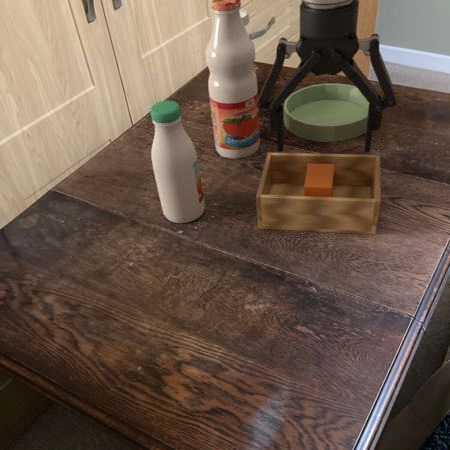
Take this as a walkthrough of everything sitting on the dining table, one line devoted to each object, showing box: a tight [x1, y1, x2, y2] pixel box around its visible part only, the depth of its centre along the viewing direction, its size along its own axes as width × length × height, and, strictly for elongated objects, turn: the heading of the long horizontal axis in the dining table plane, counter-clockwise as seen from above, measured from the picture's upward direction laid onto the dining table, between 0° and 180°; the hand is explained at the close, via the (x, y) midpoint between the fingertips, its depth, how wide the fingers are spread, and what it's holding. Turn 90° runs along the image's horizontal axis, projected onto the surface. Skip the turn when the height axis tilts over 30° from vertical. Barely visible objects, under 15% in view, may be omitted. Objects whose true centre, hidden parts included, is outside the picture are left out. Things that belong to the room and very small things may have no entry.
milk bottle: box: [150, 100, 206, 224], centre depth 83 cm, size 8×8×20 cm
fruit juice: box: [205, 0, 261, 159], centre depth 93 cm, size 9×9×28 cm
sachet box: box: [304, 164, 334, 197], centre depth 85 cm, size 4×7×6 cm, turn 169°
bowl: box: [283, 82, 370, 143], centre depth 106 cm, size 19×19×4 cm
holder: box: [255, 151, 382, 236], centre depth 85 cm, size 20×14×7 cm
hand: (323, 147), depth 79 cm, fingers open, 13 cm apart
